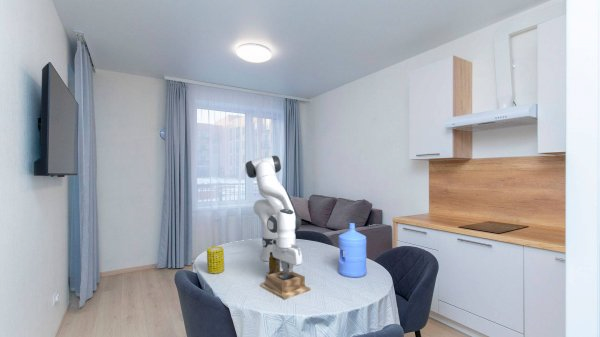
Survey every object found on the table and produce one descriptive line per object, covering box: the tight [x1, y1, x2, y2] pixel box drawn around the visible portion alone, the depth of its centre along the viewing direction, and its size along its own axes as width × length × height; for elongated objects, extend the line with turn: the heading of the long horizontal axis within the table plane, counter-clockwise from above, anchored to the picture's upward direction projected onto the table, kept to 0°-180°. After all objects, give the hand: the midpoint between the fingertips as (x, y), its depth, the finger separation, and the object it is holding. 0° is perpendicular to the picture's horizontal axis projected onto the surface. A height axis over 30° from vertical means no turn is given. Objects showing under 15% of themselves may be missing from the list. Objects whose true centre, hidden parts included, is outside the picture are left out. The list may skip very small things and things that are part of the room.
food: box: [206, 245, 225, 275], centre depth 168 cm, size 15×12×10 cm
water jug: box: [338, 222, 368, 278], centre depth 165 cm, size 16×16×28 cm
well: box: [259, 270, 311, 301], centre depth 144 cm, size 16×20×6 cm
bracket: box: [278, 261, 291, 281], centre depth 144 cm, size 5×4×10 cm
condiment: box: [266, 252, 281, 275], centre depth 164 cm, size 7×8×12 cm
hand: (286, 270), depth 145 cm, fingers closed on bracket, 4 cm apart
